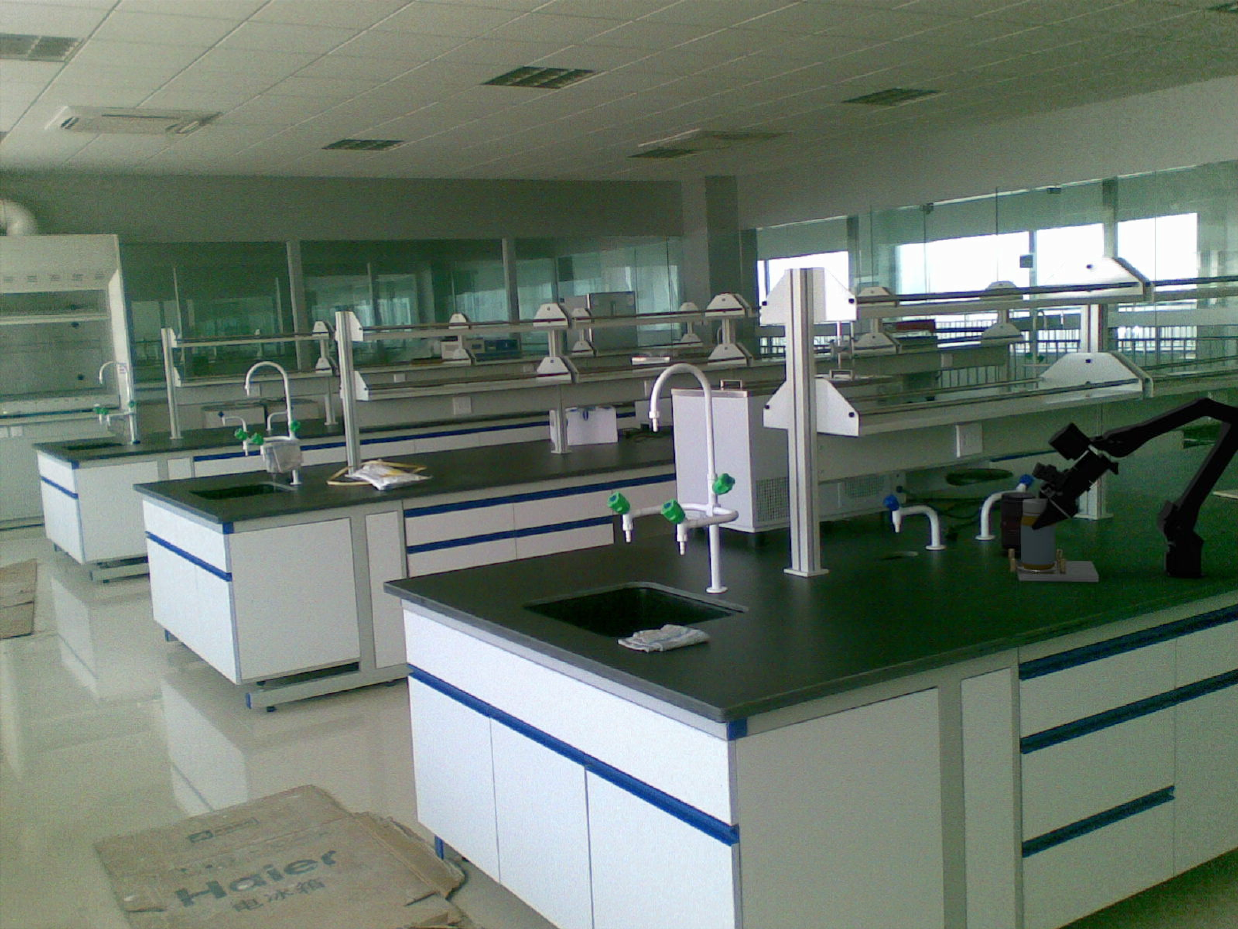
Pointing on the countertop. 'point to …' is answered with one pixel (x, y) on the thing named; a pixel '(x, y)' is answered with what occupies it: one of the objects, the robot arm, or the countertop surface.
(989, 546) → the countertop surface
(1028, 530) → the bottle
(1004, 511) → the camera lens
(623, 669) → the countertop surface
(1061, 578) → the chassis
